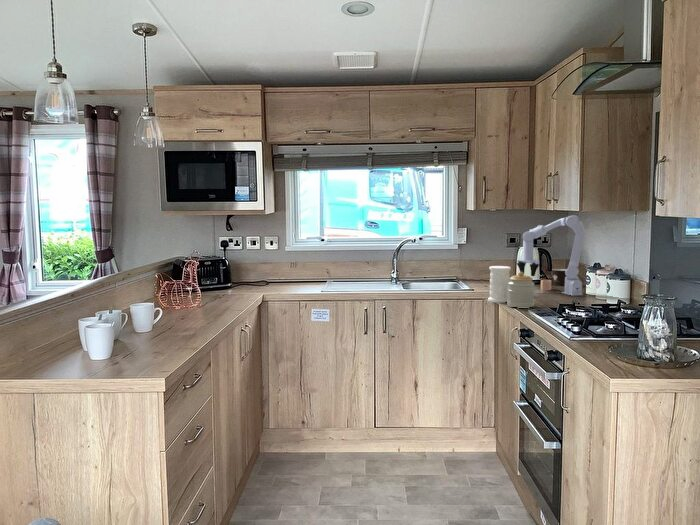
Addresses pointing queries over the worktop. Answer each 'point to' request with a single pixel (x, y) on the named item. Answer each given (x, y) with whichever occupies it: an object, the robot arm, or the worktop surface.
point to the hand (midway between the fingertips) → (527, 275)
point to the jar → (520, 291)
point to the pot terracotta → (546, 284)
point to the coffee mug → (558, 276)
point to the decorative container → (499, 283)
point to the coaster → (540, 291)
